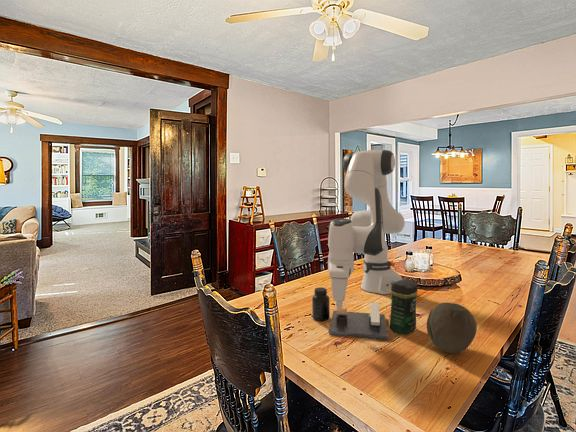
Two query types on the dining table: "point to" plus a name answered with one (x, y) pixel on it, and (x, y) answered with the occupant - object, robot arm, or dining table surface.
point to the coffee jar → (403, 306)
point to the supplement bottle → (320, 305)
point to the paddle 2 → (375, 314)
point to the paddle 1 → (342, 312)
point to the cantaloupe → (451, 327)
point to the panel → (357, 326)
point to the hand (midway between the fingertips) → (340, 304)
